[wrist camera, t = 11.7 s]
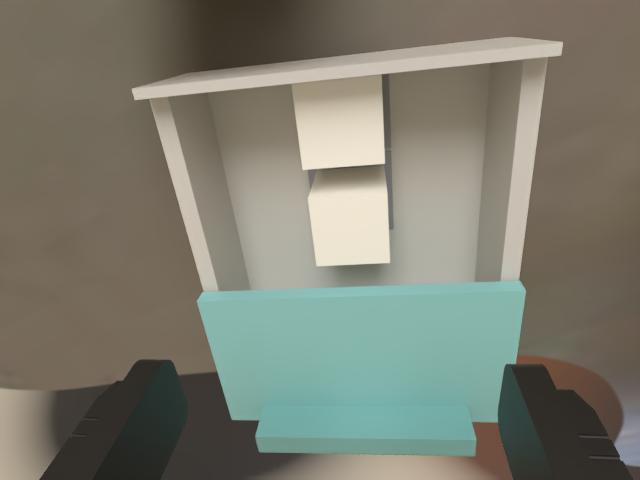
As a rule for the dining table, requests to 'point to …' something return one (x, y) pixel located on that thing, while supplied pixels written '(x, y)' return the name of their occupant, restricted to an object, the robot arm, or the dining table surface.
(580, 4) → the dining table surface
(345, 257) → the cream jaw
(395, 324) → the teal lid
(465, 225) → the grey housing
